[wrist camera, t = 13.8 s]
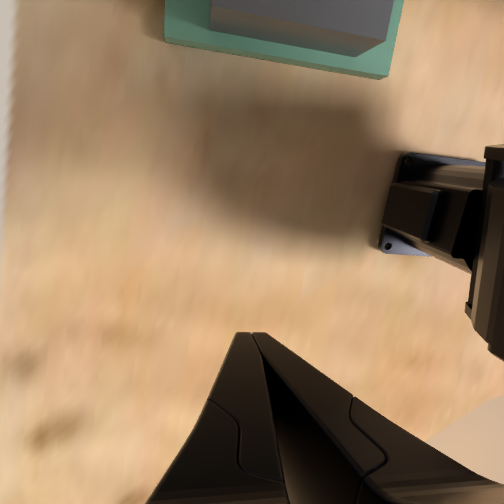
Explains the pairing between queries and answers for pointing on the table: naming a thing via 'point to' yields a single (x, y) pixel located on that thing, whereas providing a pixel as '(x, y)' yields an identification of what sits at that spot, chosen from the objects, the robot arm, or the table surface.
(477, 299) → the robot arm
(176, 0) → the board
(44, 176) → the table surface
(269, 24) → the connector socket
